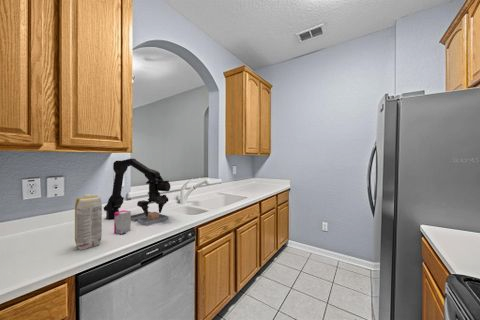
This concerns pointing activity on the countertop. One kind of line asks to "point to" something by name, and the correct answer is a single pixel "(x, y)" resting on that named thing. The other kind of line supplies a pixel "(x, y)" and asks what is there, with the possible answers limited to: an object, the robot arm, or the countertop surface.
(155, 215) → the brown cube
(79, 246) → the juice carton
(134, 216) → the bin
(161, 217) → the tray
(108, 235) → the countertop surface
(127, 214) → the supplement box
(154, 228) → the countertop surface
